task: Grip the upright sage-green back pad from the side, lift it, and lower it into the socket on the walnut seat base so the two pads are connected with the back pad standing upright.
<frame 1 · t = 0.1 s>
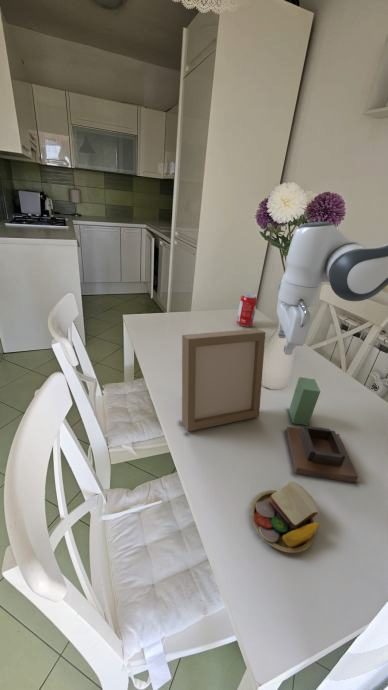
hand: (284, 344, 79), 23 cm above the table, tool pointing down, fingers open, 8 cm apart
soda can: (244, 324, 149), on the table
back pad: (298, 417, 90), on the table
photo frame: (213, 409, 89), on the table
toy sandwich meal: (281, 519, 61), on the table
seat base: (317, 455, 77), on the table
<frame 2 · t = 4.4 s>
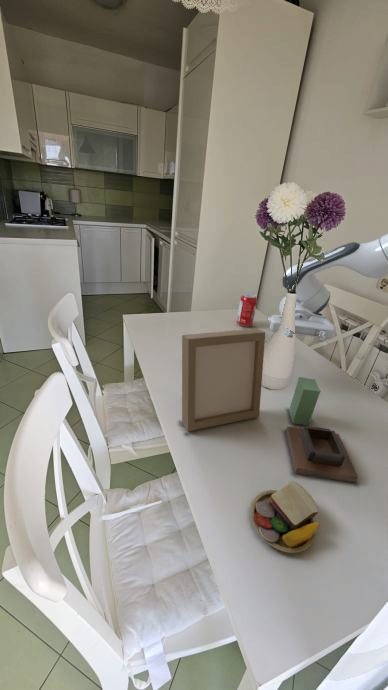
hand: (306, 337, 92), 20 cm above the table, tool horizontal, fingers open, 8 cm apart
nothing on the table moved.
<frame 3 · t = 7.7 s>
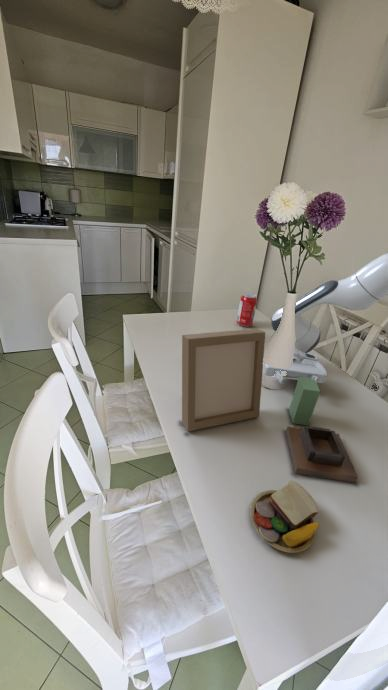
hand: (298, 383, 94), 6 cm above the table, tool horizontal, fingers open, 8 cm apart
nothing on the table moved.
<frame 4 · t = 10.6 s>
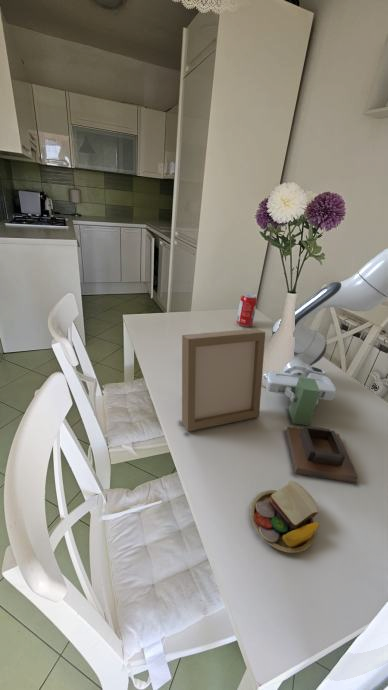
hand: (305, 401, 86), 7 cm above the table, tool horizontal, fingers closed on back pad, 4 cm apart
back pad: (298, 417, 90), on the table, touching gripper
everything else where it was.
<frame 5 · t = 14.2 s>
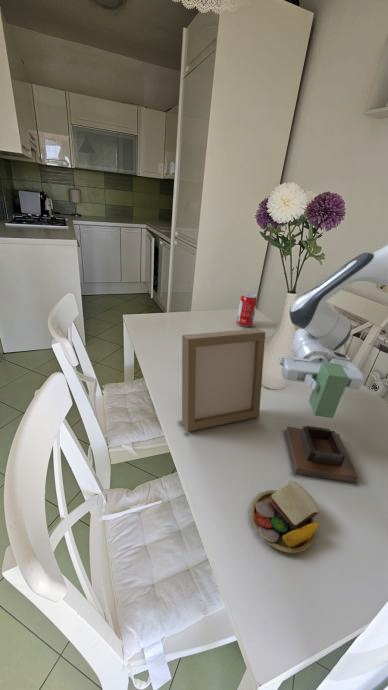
hand: (329, 390, 74), 17 cm above the table, tool horizontal, fingers closed on back pad, 4 cm apart
back pad: (320, 409, 77), point 10 cm above the table, touching gripper
everything else where it was.
when the fingers open (9 cm above the table, at t = 17.8 s): back pad stays where it is, resting on seat base.
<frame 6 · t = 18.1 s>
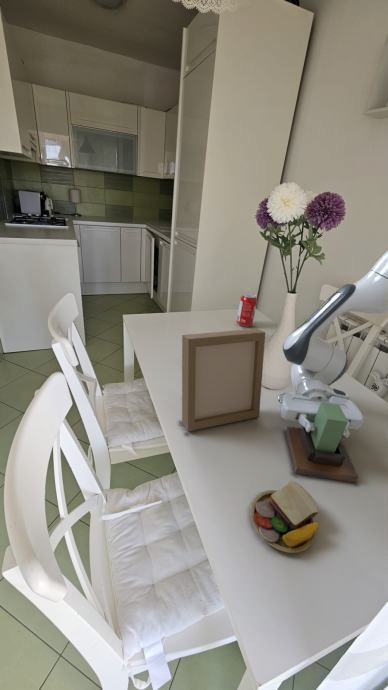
hand: (328, 432, 73), 8 cm above the table, tool horizontal, fingers open, 7 cm apart
back pad: (319, 449, 76), point 2 cm above the table, touching seat base
everything else where it was.
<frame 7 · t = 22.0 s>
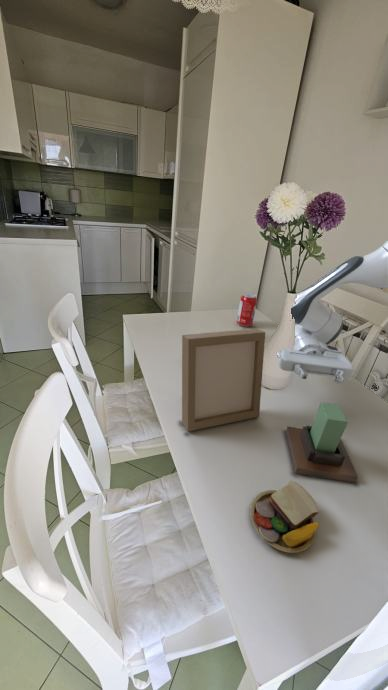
hand: (322, 379, 81), 15 cm above the table, tool horizontal, fingers open, 8 cm apart
nothing on the table moved.
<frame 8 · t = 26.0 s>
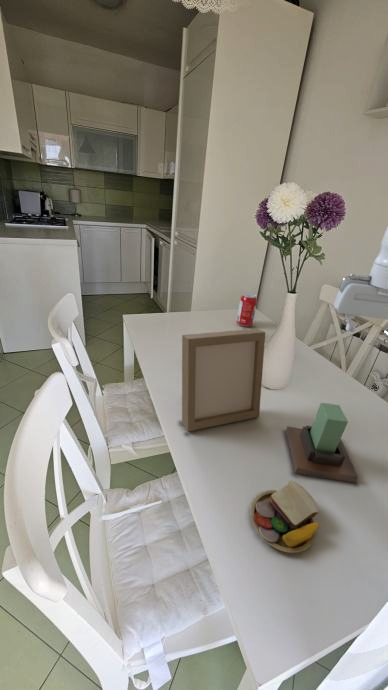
hand: (368, 333, 76), 29 cm above the table, tool pointing down, fingers open, 8 cm apart
nothing on the table moved.
at the end: back pad 0.1 cm off-centre on the seat base, point 2.0 cm above the seat base's base; back pad tilted 0° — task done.
